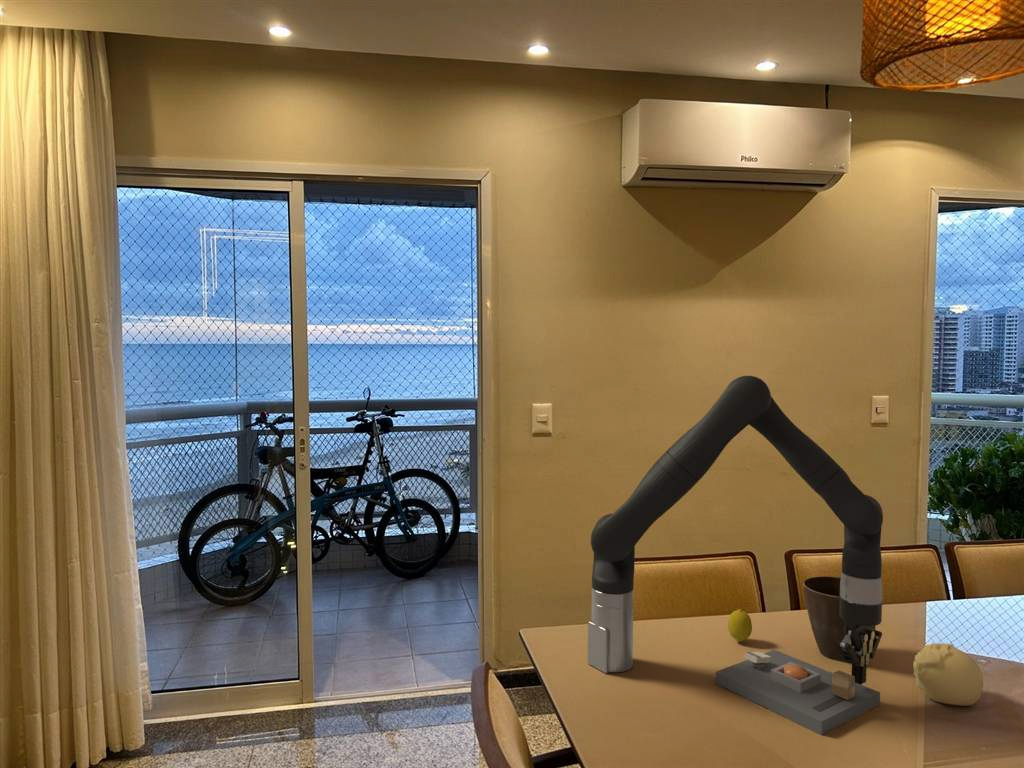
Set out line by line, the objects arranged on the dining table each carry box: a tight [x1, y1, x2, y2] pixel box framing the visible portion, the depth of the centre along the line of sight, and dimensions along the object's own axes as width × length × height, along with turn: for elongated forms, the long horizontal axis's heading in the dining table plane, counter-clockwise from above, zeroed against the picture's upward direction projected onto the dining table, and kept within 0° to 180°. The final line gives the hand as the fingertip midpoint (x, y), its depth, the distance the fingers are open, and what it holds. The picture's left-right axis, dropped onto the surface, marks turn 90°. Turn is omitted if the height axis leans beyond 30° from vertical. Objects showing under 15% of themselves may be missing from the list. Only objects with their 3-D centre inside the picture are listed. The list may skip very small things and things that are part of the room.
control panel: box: [715, 649, 881, 736], centre depth 141 cm, size 20×24×4 cm
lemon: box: [727, 608, 753, 643], centre depth 166 cm, size 6×6×8 cm
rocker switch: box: [744, 651, 771, 663], centre depth 148 cm, size 5×3×1 cm, turn 124°
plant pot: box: [802, 576, 846, 662], centre depth 159 cm, size 15×15×16 cm
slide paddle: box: [831, 669, 855, 700], centre depth 134 cm, size 2×3×4 cm
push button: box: [784, 665, 807, 680], centre depth 141 cm, size 4×4×2 cm
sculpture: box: [912, 642, 984, 707], centre depth 139 cm, size 12×12×11 cm
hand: (858, 682), depth 138 cm, fingers closed
